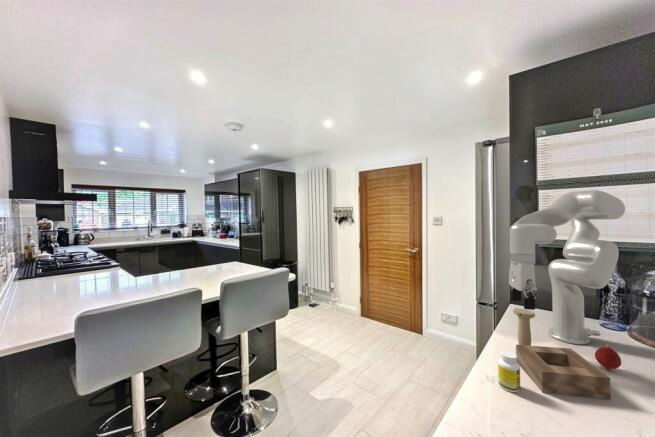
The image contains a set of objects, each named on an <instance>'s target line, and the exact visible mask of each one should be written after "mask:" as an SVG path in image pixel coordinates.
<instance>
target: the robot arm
mask: <svg viewBox="0 0 655 437" xmlns="http://www.w3.org/2000/svg"><path fill="white" fill-rule="evenodd" d="M625 212H626V206H625V203H624V202H623V201H622V200H621V199H620V198H618V197H617V196H614V195H612V194H610V193H608V192H606V191H603V190H597V189H592V190H580V191H578V190H577V191H570V192H566V193H564V194H562V195H561V196H559V197H558V198H557V199H556V200H554V202H552V203H551V204H550V205H549V206H547V207H546V208H542V209H540V210H537V211H534V212H531V213H529V214H526V215H524V216H522V217H520V218H519V219H518V220H517V221H515V222H514V223H513V224H512V225H511V226H510V227H509V262H510V263H509V272H508V284H509V286H510V290H511V293H510V294H511V301H515V302H522V292H523V294H524V297H523V309H526V310H529V311H534V310H536V298H537V291H538V288H537V286H536V285H537V284H536V271H535V270H536V269H535V265H536V245H548V244H551V243H553V242H554V241H555V240H556V238H557V230H556V229H555V228H556V227H560V226H563V225H566V224H568V223H569V222H570V223H571V228H572V229H571V232H570V234H569V236H568V238H567V240H566V242H565V244H564V247H563V250H562V256H564V258H557V259H554V260H552V261H551V262H550V263H549V265H548V267H547V268H548V275H549V278H550V283H551V295H552V299H551V301H552V304H551V305H552V306H551V307H552V328H549V329H548V330H547V332H548V335H549V336H550V337H551V338H554V339H555V340H558V341H561V342H564V343H568V344H573V345H588V344H591V338H590V336H595V337H597V336H598V337H599V336H601V333H600V331H599V330H593V329H592V330H591V328H586V327H585V297H584V293H583V291H582V290H581V288H580V287H585V288H590V289H597V290H598V289H599V290H600V289H603V288H605V287H606V286H607V284H608V283H609V281H610V279H611V277H612V274H613V272H614V270H615V268H616V265H617V263H618V261H619V254H620V252H619V248H618V245H616V243H614V242H613V241H610V240H604V239H599V238H600V235H601V233H600V231H599V229H598V227H597V226H595V224H593V223H592V222H591V221H590V220H593V221H595V220H596V221H597V220H599V221H600V220H605V221H606V220H611V221H613V220H617V219H620V218H622V217H623V216H624V214H625ZM554 227H555V228H554Z"/></svg>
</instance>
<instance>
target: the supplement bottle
mask: <svg viewBox="0 0 655 437" xmlns="http://www.w3.org/2000/svg"><path fill="white" fill-rule="evenodd" d="M497 368H498V370H497V373H498V375H497V376H498V377H497V379H498V380H497V381H498V386H499V387H500V388H502V389H503V390H505V391H507V392H511V393H519V392H520V391H521V367H520V365H519V364H518V363H517V355H516V353H514V352H512V351H508V350H503V351H501V352H500V358H499V359H498V360H497Z"/></svg>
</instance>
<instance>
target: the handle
mask: <svg viewBox="0 0 655 437" xmlns="http://www.w3.org/2000/svg"><path fill="white" fill-rule="evenodd" d="M512 311H513V314H514V315H516V316H517V317H518V322H517V323H518V325H517V342H518V345H528V346H532V331H531V319H533V318H535V317H536V312H534V311H533V310H529V309H524V308H520V307H515V308H513V309H512Z"/></svg>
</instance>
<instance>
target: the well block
mask: <svg viewBox="0 0 655 437" xmlns="http://www.w3.org/2000/svg"><path fill="white" fill-rule="evenodd" d="M515 354H516V355H517V363H518V364H519V365H520V369H521V370H523V372H524V373H525V374H526V375H527V376H528V377H529V379H530V380H531V381H532V382H533V383H534V384H535V386H537V388H538V389H539V390H540V391H541V393H543V394H545V393H546V394H554V395H562V396H571V397H573V396H574V397H582V398H591V399H600V400H601V399H602V400H609V401H611V394H612V393H611V377H609V375H607V374H605V373H604V372H603V371H601V370H600V369H599V368H598V367H596V366H595V365H594V364H592V363H591V362H590V361H589V360H587V359H586V358H584V357H583V356H582V355H580V354H579V353H578V352H576V351H575V350H573V349H572V348H570V347H569V348H567V347H556V346H555V347H554V346H542V345H541V346H540V345H531V346H528V345H519V344H515Z"/></svg>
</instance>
